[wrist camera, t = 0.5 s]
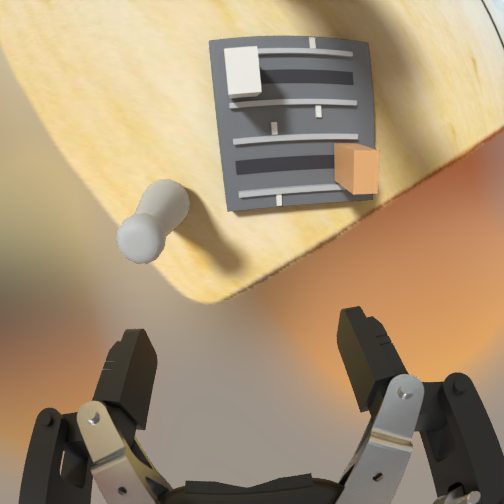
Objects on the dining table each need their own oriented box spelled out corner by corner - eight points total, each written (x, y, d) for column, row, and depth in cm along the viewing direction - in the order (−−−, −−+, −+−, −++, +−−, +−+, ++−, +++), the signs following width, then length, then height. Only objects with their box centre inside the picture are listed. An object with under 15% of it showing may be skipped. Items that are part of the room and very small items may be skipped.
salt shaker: (200, 186, 32) (181, 230, 21) (182, 226, 35) (159, 285, 23) (156, 167, 31) (114, 201, 19) (141, 208, 33) (100, 259, 22)
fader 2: (334, 143, 28) (353, 150, 23) (356, 143, 28) (379, 150, 23) (334, 180, 30) (353, 194, 25) (356, 179, 30) (377, 193, 25)
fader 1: (225, 60, 23) (223, 48, 18) (252, 58, 23) (257, 46, 18) (229, 98, 25) (228, 94, 21) (256, 96, 26) (261, 91, 21)
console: (210, 45, 24) (208, 39, 22) (361, 45, 24) (370, 41, 22) (227, 206, 34) (227, 213, 31) (366, 195, 34) (374, 201, 32)
